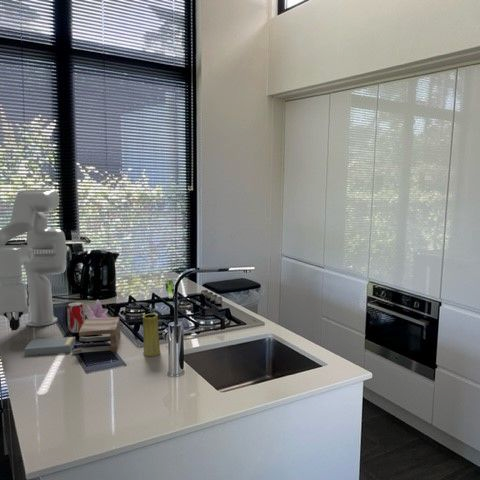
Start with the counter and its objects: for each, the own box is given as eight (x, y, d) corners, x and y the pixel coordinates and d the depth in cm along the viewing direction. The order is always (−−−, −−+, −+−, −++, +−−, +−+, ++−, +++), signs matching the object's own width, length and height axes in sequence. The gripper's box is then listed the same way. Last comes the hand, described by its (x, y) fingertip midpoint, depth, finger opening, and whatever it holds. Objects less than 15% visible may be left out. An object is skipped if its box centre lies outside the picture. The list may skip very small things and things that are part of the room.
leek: (165, 305, 239) (163, 287, 268) (178, 306, 241) (175, 288, 269) (166, 294, 238) (164, 278, 267) (179, 295, 239) (176, 278, 268)
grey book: (32, 346, 176) (32, 339, 176) (75, 342, 179) (75, 336, 178) (24, 355, 166) (24, 348, 166) (70, 352, 169) (70, 345, 168)
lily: (83, 331, 196) (91, 313, 194) (77, 314, 205) (85, 297, 202) (108, 333, 204) (117, 316, 201) (101, 317, 212) (109, 301, 210)
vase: (163, 351, 168) (161, 314, 166) (155, 357, 162) (153, 318, 160) (148, 349, 170) (147, 312, 168) (140, 355, 164) (138, 317, 162)
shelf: (80, 340, 182) (78, 319, 181) (120, 337, 184) (119, 316, 183) (72, 354, 166) (70, 332, 165) (116, 351, 169) (115, 329, 168)
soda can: (80, 334, 189) (78, 306, 187) (65, 333, 190) (63, 305, 189) (89, 328, 196) (87, 301, 194) (74, 328, 197) (72, 301, 196)
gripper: (-15, 284, 162) (-11, 334, 164) (30, 281, 164) (33, 331, 166) (-7, 280, 169) (-3, 328, 171) (35, 278, 172) (39, 325, 174)
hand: (15, 329), depth 169 cm, fingers closed
